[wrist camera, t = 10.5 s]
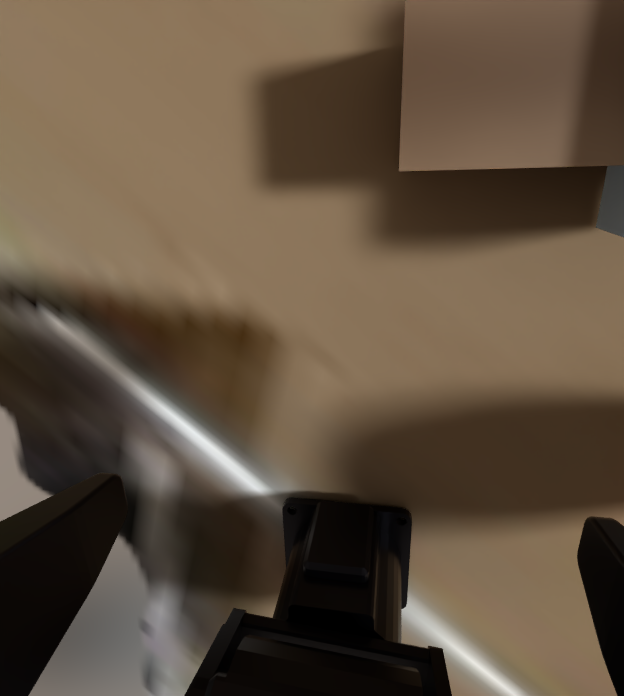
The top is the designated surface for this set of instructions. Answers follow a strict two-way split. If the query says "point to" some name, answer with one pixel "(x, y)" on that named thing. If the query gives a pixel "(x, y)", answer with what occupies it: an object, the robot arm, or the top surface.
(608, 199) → the light blue block
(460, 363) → the top surface
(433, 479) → the top surface
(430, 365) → the top surface
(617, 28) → the rail
